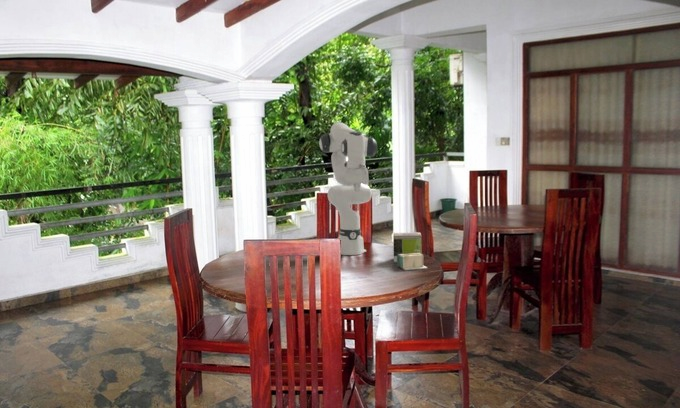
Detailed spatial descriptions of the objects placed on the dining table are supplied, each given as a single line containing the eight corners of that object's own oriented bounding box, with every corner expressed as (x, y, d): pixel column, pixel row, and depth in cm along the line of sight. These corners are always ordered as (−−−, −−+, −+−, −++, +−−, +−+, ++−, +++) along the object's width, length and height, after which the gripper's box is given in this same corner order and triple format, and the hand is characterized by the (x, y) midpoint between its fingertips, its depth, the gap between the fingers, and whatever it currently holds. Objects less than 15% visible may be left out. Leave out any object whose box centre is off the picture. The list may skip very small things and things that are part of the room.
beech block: (397, 254, 304) (418, 252, 307) (397, 265, 305) (418, 264, 308) (401, 256, 298) (423, 255, 301) (401, 268, 299) (423, 266, 302)
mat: (397, 265, 307) (397, 264, 307) (419, 263, 310) (419, 262, 310) (405, 270, 297) (405, 269, 297) (427, 268, 300) (427, 267, 300)
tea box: (421, 258, 322) (421, 231, 320) (421, 263, 312) (422, 235, 310) (393, 258, 323) (393, 231, 321) (393, 262, 313) (393, 235, 311)
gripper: (371, 165, 289) (371, 193, 291) (353, 162, 308) (353, 189, 310) (360, 165, 287) (360, 193, 288) (342, 163, 305) (342, 190, 307)
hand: (356, 191), depth 299 cm, fingers closed
